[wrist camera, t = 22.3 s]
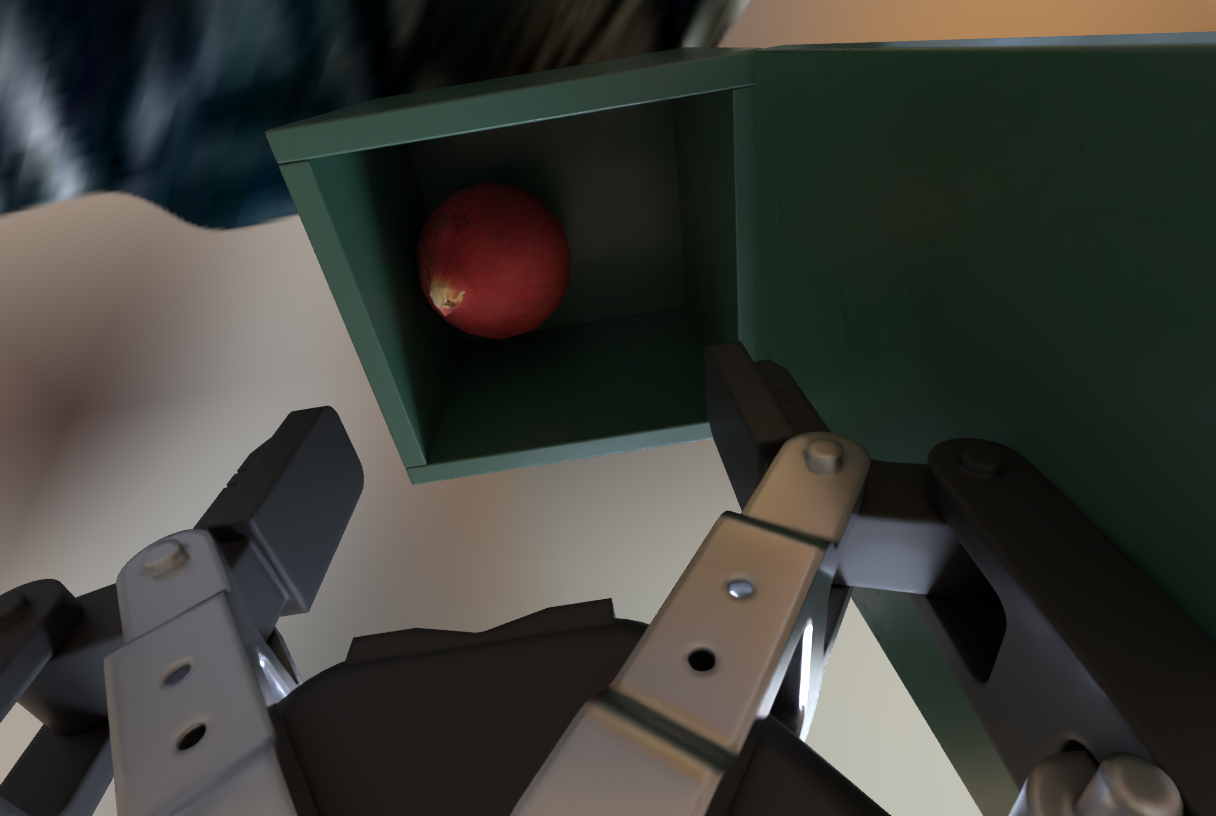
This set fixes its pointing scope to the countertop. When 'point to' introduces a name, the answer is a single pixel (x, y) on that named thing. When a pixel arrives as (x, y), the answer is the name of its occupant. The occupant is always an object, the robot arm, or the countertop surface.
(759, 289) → the lid
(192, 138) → the countertop surface
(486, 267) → the onion
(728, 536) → the robot arm
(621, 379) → the box
